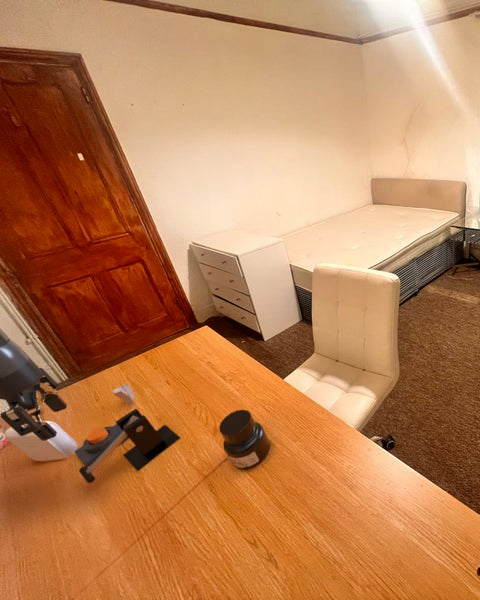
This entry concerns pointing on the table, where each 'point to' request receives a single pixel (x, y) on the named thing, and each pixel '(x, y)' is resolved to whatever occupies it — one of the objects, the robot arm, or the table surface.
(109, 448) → the switch lever
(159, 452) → the bracket
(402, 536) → the table surface
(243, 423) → the ink bottle
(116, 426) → the button box
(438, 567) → the table surface
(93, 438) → the button
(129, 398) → the pale grey angular bracket
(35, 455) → the photo printer
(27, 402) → the robot arm
